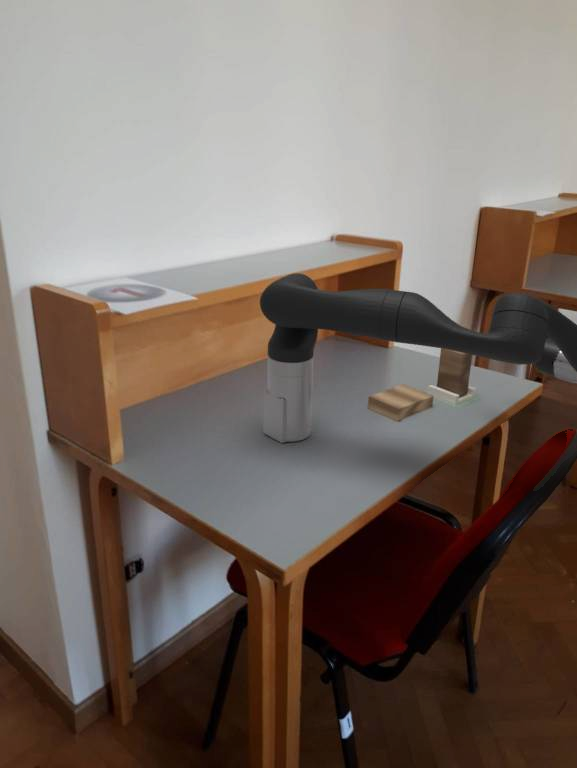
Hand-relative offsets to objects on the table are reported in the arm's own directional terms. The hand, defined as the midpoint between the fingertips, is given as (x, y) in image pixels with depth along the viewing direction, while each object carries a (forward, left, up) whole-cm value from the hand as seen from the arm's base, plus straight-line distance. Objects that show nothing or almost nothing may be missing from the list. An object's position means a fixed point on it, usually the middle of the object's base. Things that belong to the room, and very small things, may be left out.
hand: (495, 339), depth 140 cm
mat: (0, +10, -17) cm, 19 cm away
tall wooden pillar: (0, +10, -16) cm, 18 cm away
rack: (0, +10, -17) cm, 19 cm away
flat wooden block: (-14, +13, -17) cm, 26 cm away
